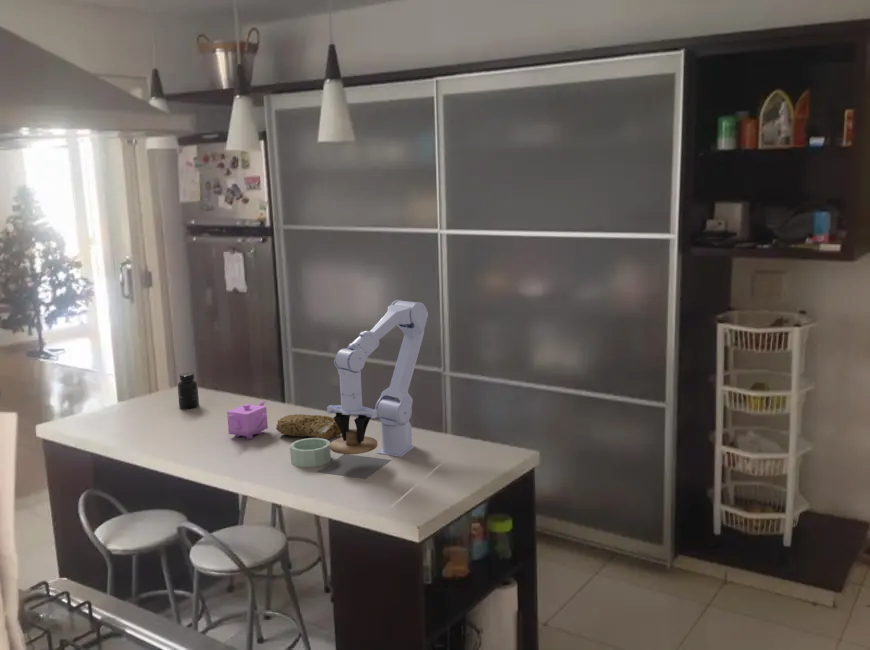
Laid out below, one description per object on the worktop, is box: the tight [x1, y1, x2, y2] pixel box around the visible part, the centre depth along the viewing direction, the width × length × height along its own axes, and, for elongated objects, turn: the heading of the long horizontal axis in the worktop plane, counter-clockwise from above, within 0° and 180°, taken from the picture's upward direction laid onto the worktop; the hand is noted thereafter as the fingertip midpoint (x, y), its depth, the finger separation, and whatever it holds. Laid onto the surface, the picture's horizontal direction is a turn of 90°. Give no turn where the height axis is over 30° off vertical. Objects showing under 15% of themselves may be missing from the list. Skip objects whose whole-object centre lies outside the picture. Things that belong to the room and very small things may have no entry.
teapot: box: [226, 400, 269, 440], centre depth 252 cm, size 18×13×10 cm
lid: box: [330, 428, 378, 455], centre depth 221 cm, size 13×13×4 cm
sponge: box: [275, 413, 342, 441], centre depth 250 cm, size 13×8×20 cm
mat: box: [316, 454, 392, 480], centre depth 223 cm, size 15×15×1 cm
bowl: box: [289, 437, 332, 468], centre depth 228 cm, size 11×11×5 cm
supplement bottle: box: [177, 372, 200, 410], centre depth 285 cm, size 7×7×12 cm
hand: (353, 440), depth 221 cm, fingers closed on lid, 4 cm apart
